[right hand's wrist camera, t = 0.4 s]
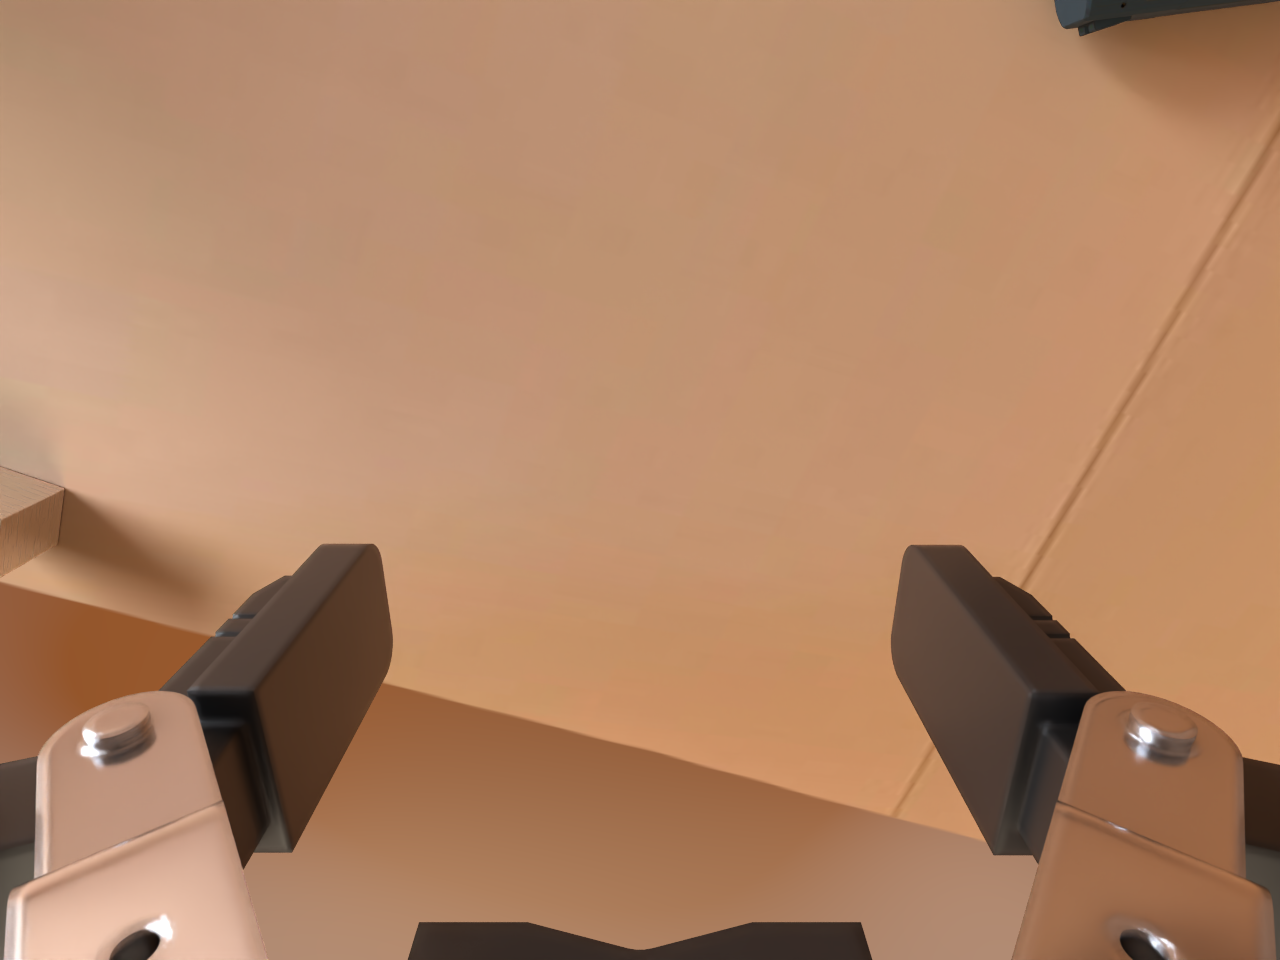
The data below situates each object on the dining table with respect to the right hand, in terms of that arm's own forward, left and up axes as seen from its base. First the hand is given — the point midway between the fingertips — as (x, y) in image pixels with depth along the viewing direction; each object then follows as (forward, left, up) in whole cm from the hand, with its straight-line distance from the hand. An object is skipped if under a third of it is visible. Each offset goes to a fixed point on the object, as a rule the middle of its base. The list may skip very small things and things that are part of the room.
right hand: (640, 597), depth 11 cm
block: (+7, -38, -30) cm, 49 cm away
